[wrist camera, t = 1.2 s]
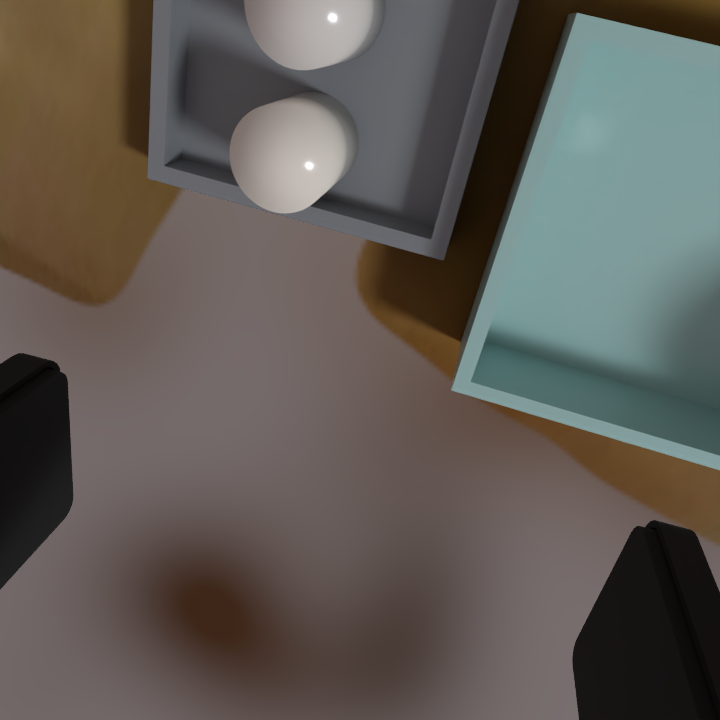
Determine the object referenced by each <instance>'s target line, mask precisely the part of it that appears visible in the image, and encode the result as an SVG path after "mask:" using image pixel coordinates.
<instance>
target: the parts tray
mask: <svg viewBox="0 0 720 720" xmlns="http://www.w3.org/2000/svg"><path fill="white" fill-rule="evenodd" d="M519 2H520V0H385V17H384V22H383V26H382V28H381V31H380V34H379V35H378V37H377V39H376V41H375V42H374V44H373V45H372V46H371V47H370V48H369V49H368V50H367V51H366V52H365V53H364V54H363V55H361V56H359V57H358V58H356V59H353V60H351V61H347V62H343V63H339V64H335V65H330V66H326V67H322V68H317V69H313V70H295V69H290V68H287V67H284V66H282V65H280V64H278V63H277V62H275V61H274V60H272V59H271V58H270V57H269V56H268V55H266V54H265V53H264V51H263V50H262V49H261V48H260V47H259V45H258V44H257V42H256V41H255V39H254V37H253V35H252V33H251V31H250V28H249V26H248V22H247V19H246V14H245V7H244V0H153V29H152V59H151V90H150V121H149V151H148V179H151V180H155V181H159V182H162V183H166V184H169V185H173V186H177V187H180V188H184V189H187V190H191V191H195V192H198V193H202V194H205V195H209V196H213V197H216V198H220V199H223V200H227V201H231V202H234V203H238V204H241V205H245V206H248V207H252V208H256V209H260V210H263V211H266V212H270V213H274V214H277V215H281V216H284V217H288V218H292V219H296V220H299V221H303V222H306V223H310V224H313V225H317V226H320V227H324V228H328V229H331V230H335V231H338V232H342V233H346V234H349V235H353V236H356V237H360V238H363V239H367V240H371V241H374V242H378V243H381V244H385V245H389V246H392V247H396V248H399V249H403V250H407V251H410V252H414V253H417V254H421V255H425V256H428V257H432V258H435V259H439V260H443V261H444V258H445V255H446V252H447V249H448V246H449V243H450V240H451V236H452V233H453V230H454V226H455V223H456V219H457V216H458V212H459V209H460V205H461V202H462V199H463V195H464V192H465V188H466V185H467V181H468V178H469V174H470V171H471V168H472V164H473V161H474V157H475V154H476V150H477V147H478V143H479V140H480V136H481V133H482V130H483V126H484V123H485V119H486V116H487V112H488V109H489V105H490V102H491V99H492V95H493V92H494V88H495V85H496V81H497V78H498V74H499V71H500V68H501V64H502V61H503V57H504V54H505V50H506V47H507V43H508V40H509V37H510V33H511V30H512V26H513V23H514V19H515V16H516V12H517V9H518V6H519ZM304 92H321V93H325V94H328V95H330V96H332V97H334V98H335V99H337V100H338V101H340V102H341V103H342V104H343V105H344V106H345V107H346V108H347V110H348V111H349V112H350V114H351V115H352V117H353V119H354V121H355V124H356V127H357V131H358V137H359V148H358V154H357V157H356V160H355V162H354V164H353V166H352V168H351V169H350V171H349V172H348V173H347V174H346V175H345V176H344V177H343V178H342V179H341V180H340V181H338V182H337V183H336V184H335V185H334V186H333V187H332V188H330V189H329V190H328V191H327V192H326V193H325V194H324V195H322V196H321V197H320V198H319V199H318V200H317V201H316V202H314V203H313V204H312V205H310V206H309V207H307V208H306V209H304V210H301V211H298V212H294V213H276V212H272V211H269V210H266V209H264V208H262V207H260V206H258V205H257V204H255V203H254V202H253V201H252V200H250V199H249V198H248V197H247V196H246V195H245V194H244V192H243V191H242V190H241V188H240V187H239V185H238V183H237V182H236V179H235V177H234V175H233V172H232V169H231V164H230V155H229V153H230V142H231V138H232V135H233V132H234V130H235V128H236V126H237V125H238V123H239V122H240V121H241V119H242V118H243V117H244V116H245V115H246V114H248V113H249V112H250V111H252V110H253V109H256V108H258V107H260V106H263V105H266V104H269V103H272V102H275V101H279V100H282V99H285V98H288V97H291V96H294V95H297V94H300V93H304Z"/></svg>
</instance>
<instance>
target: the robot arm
mask: <svg viewBox="0 0 720 720" xmlns="http://www.w3.org/2000/svg"><path fill="white" fill-rule="evenodd" d="M71 461H72V460H71V440H70V419H69V399H68V382H67V377H66V375H65V374H64V373H62V372H60V368H59V366H58V365H57V363H55V362H54V361H51V360H47V359H43V358H39V357H35V356H31V355H28V354H24V353H18V354H16V355H14V356H12V357H10V358H9V359H7V360H6V361H4V362H3V363H1V364H0V589H1V588H2V587H3V586H4V585H5V584H6V582H7V581H8V580H9V579H10V578H11V577H12V576H13V575H14V574H15V573H16V571H17V570H18V569H19V568H20V567H21V566H22V565H23V564H24V563H25V562H26V560H27V559H28V558H29V557H30V556H31V555H32V554H33V553H34V551H36V549H37V548H38V547H39V546H40V545H41V544H42V543H43V542H44V541H45V540H46V539H47V537H48V536H49V535H50V534H51V533H52V532H53V531H54V530H55V529H56V528H57V526H58V525H59V524H60V523H61V522H62V521H63V520H64V519H65V517H66V516H67V514H68V513H69V511H70V508H71V506H72V502H73V481H72V462H71ZM573 672H574V680H575V688H576V697H577V705H578V713H579V720H720V592H719V589H718V587H717V585H716V582H715V580H714V577H713V575H712V572H711V570H710V568H709V565H708V562H707V560H706V557H705V555H704V552H703V550H702V547H701V545H700V543H699V540H698V537H697V536H696V534H695V532H693V531H692V530H690V529H686V528H682V527H678V526H675V525H671V524H667V523H663V522H659V521H656V520H654V521H650V522H649V523H648V524H647V526H646V527H641V526H637V527H635V528H634V529H633V531H632V532H631V534H630V536H629V538H628V540H627V542H626V544H625V546H624V548H623V550H622V552H621V554H620V556H619V558H618V560H617V561H616V563H615V565H614V567H613V569H612V572H611V573H610V575H609V577H608V579H607V581H606V583H605V585H604V587H603V589H602V591H601V593H600V595H599V597H598V599H597V601H596V602H595V604H594V607H593V608H592V610H591V612H590V614H589V616H588V618H587V620H586V622H585V624H584V626H583V628H582V630H581V632H580V634H579V636H578V638H577V640H576V642H575V646H574V650H573Z"/></svg>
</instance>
